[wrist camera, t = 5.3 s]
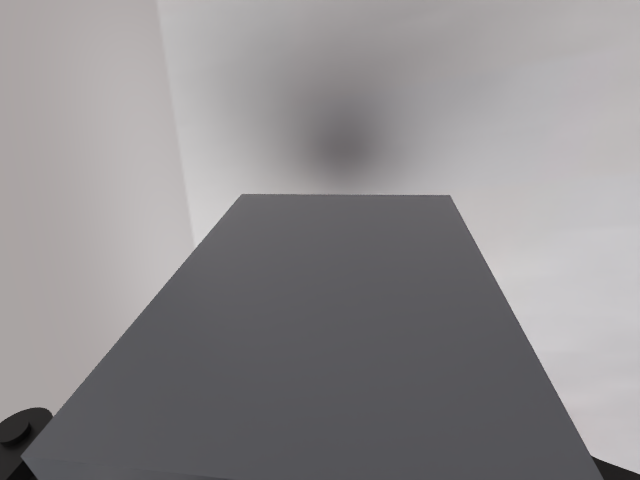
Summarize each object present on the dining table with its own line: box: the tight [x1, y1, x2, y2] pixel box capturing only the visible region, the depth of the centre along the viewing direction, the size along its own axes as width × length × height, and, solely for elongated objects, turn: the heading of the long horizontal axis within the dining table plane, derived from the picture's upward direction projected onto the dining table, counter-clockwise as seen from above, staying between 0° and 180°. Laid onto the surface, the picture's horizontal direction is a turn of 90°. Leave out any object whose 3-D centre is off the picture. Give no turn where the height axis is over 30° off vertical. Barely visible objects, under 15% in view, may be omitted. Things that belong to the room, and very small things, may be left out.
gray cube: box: [21, 194, 604, 480], centre depth 9 cm, size 7×7×9 cm
